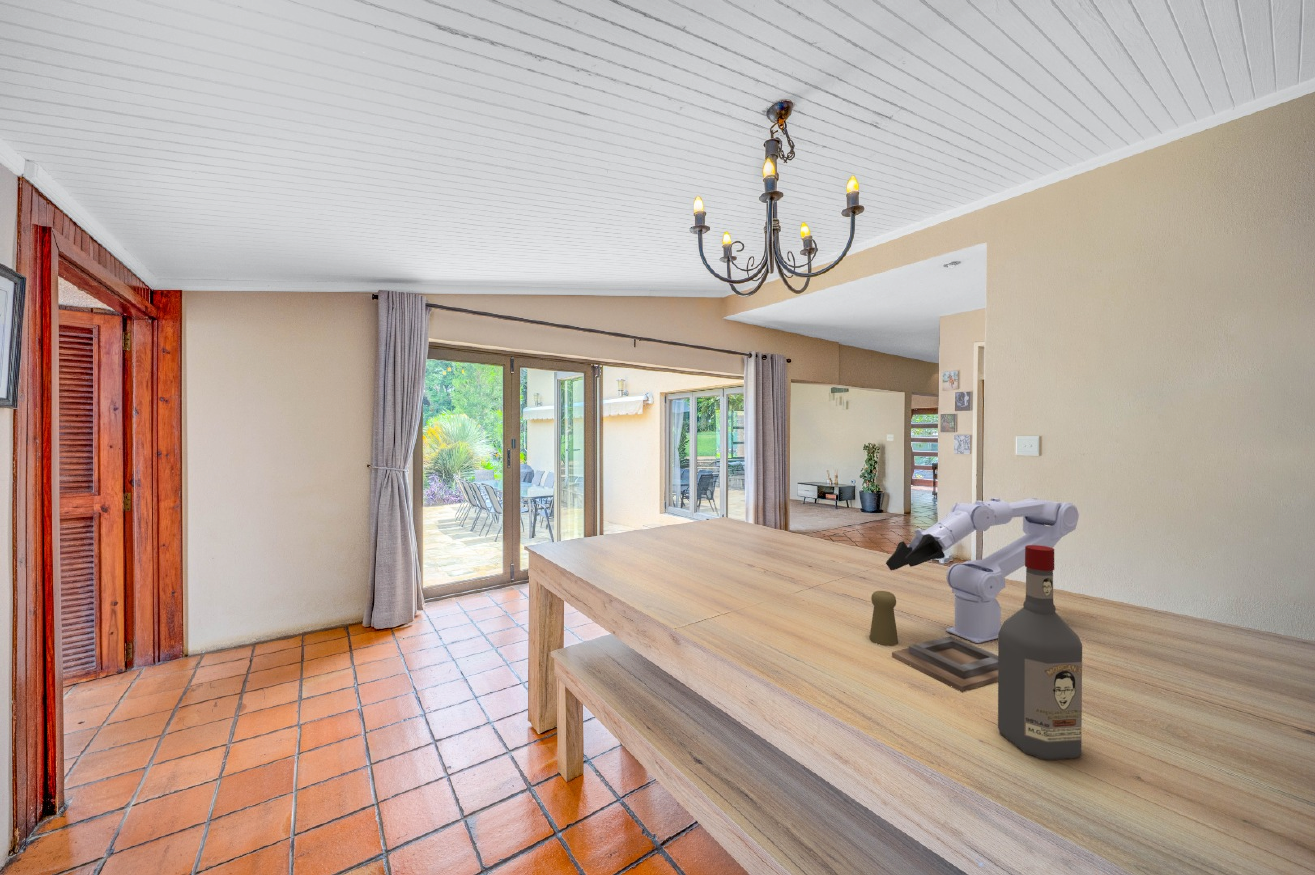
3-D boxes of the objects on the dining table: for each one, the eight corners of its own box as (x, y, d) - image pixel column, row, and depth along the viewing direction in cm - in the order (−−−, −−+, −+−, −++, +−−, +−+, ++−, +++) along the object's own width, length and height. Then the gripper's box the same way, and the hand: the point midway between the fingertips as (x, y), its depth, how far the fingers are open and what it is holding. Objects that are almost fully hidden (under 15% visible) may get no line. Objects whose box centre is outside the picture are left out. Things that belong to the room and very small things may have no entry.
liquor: (989, 726, 84) (989, 542, 83) (1041, 723, 85) (1042, 540, 84) (1034, 763, 75) (1035, 556, 74) (1093, 759, 76) (1094, 554, 75)
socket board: (952, 642, 117) (952, 631, 116) (1026, 673, 102) (1026, 660, 102) (891, 656, 110) (891, 644, 110) (962, 692, 95) (962, 678, 95)
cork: (901, 646, 114) (901, 597, 114) (872, 644, 116) (872, 595, 115) (894, 636, 120) (894, 588, 120) (867, 634, 122) (866, 587, 121)
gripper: (913, 525, 125) (870, 552, 121) (952, 512, 112) (906, 543, 108) (931, 551, 123) (889, 580, 120) (973, 542, 110) (926, 573, 106)
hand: (898, 564), depth 114 cm, fingers open, 7 cm apart
